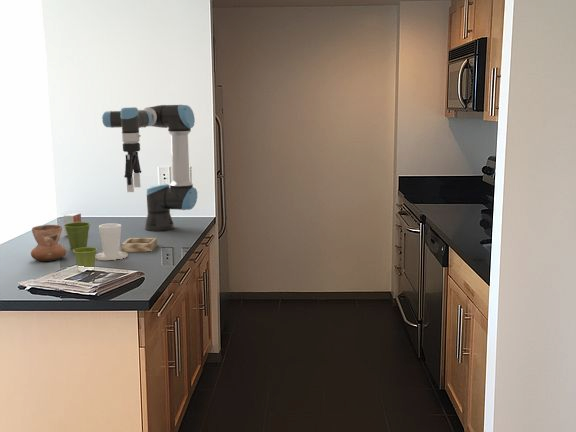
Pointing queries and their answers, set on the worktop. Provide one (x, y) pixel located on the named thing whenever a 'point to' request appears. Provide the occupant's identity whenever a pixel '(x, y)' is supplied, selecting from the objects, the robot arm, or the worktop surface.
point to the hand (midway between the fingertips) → (134, 189)
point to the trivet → (101, 256)
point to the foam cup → (110, 238)
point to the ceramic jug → (47, 243)
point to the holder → (139, 244)
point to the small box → (71, 219)
